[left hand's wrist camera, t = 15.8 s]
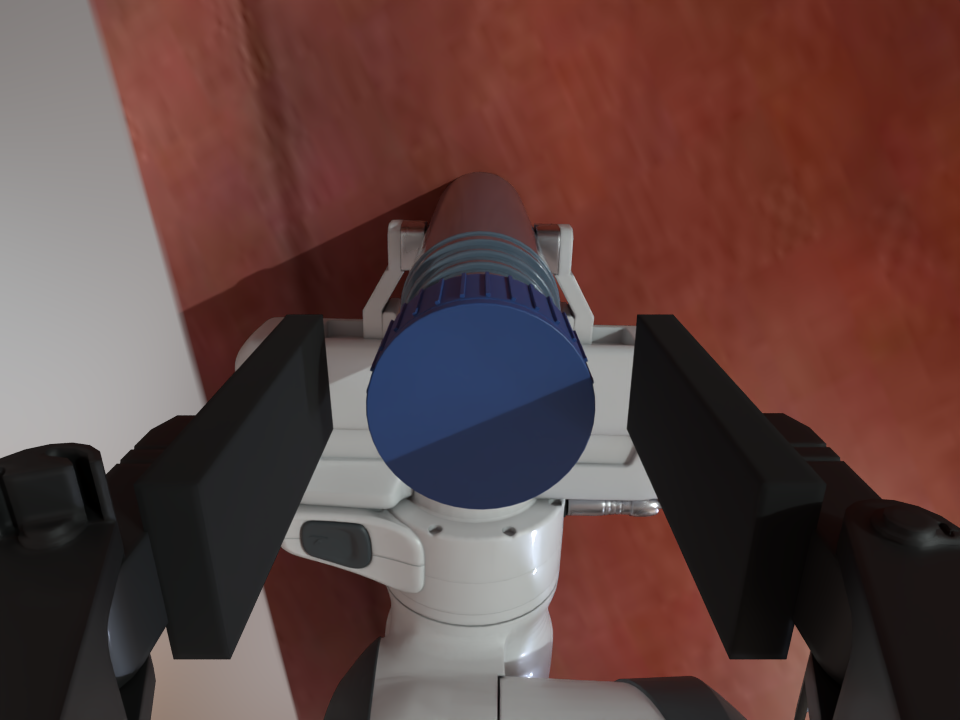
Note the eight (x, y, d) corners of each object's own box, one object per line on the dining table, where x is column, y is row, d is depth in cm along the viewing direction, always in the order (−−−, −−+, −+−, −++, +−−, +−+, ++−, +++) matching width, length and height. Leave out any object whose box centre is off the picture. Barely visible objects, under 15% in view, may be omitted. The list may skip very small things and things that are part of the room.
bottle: (487, 152, 32) (502, 241, 12) (542, 225, 33) (640, 419, 13) (417, 210, 33) (317, 385, 13) (472, 278, 34) (462, 536, 14)
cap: (337, 371, 14) (314, 416, 12) (477, 225, 13) (477, 247, 11) (482, 490, 16) (483, 550, 13) (623, 365, 14) (647, 410, 12)
